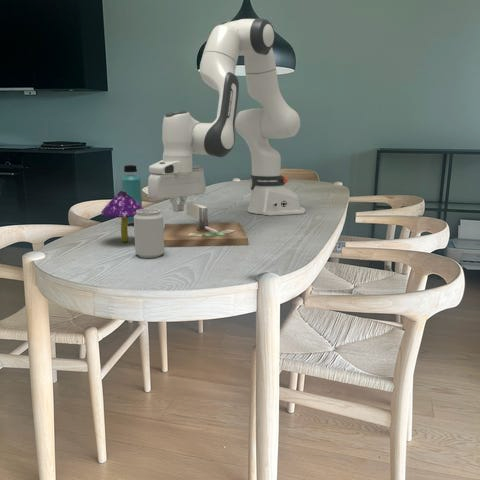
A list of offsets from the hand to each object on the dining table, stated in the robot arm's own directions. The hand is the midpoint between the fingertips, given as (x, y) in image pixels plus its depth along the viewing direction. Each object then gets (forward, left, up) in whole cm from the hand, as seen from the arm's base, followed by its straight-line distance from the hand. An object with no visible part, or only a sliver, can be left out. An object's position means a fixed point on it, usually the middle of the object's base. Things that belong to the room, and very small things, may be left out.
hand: (178, 211), depth 149 cm
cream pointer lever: (-7, +4, -5) cm, 9 cm away
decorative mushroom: (+15, +9, -7) cm, 20 cm away
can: (+7, +24, -7) cm, 27 cm away
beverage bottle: (+15, -16, -7) cm, 23 cm away
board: (-8, +4, -7) cm, 11 cm away
